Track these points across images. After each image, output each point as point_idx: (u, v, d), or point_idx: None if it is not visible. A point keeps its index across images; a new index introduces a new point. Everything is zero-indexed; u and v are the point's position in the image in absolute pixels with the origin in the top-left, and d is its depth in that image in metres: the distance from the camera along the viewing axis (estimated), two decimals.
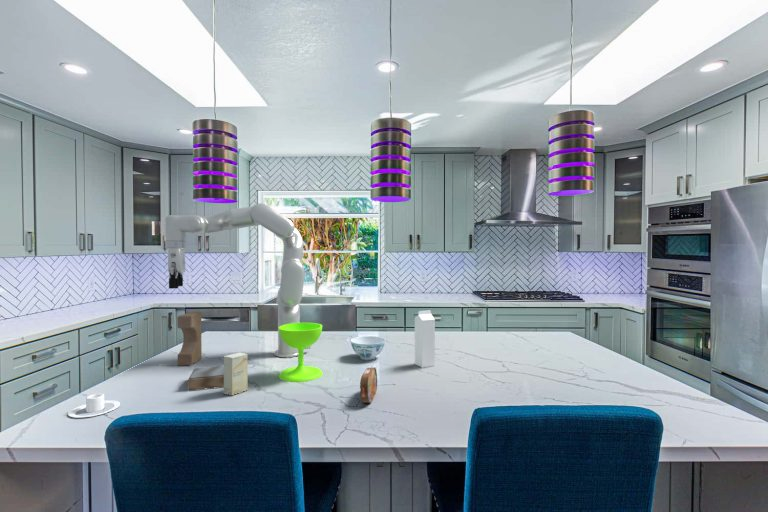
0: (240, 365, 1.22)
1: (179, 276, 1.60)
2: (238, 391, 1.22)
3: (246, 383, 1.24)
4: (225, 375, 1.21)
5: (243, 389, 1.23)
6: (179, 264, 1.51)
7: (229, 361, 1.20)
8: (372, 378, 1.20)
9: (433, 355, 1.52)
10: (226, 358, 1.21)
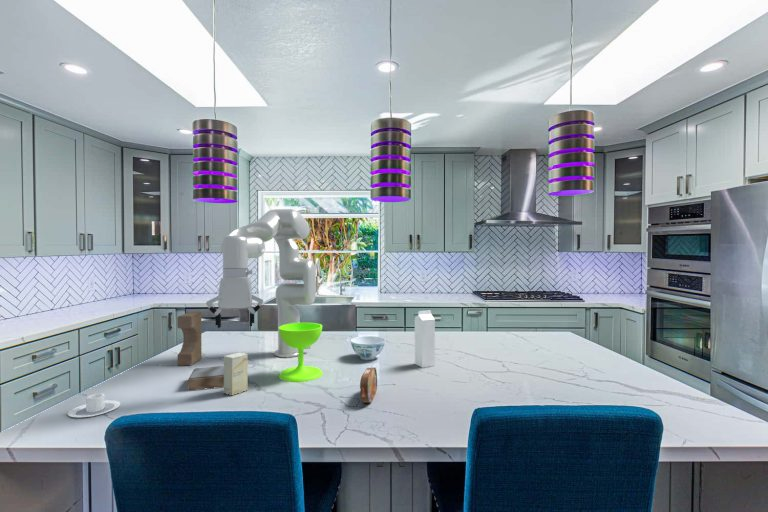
0: (240, 365, 1.22)
1: None
2: (238, 391, 1.22)
3: (246, 383, 1.24)
4: (225, 375, 1.21)
5: (243, 389, 1.23)
6: None
7: (229, 361, 1.20)
8: (372, 378, 1.20)
9: (433, 355, 1.52)
10: (226, 358, 1.21)
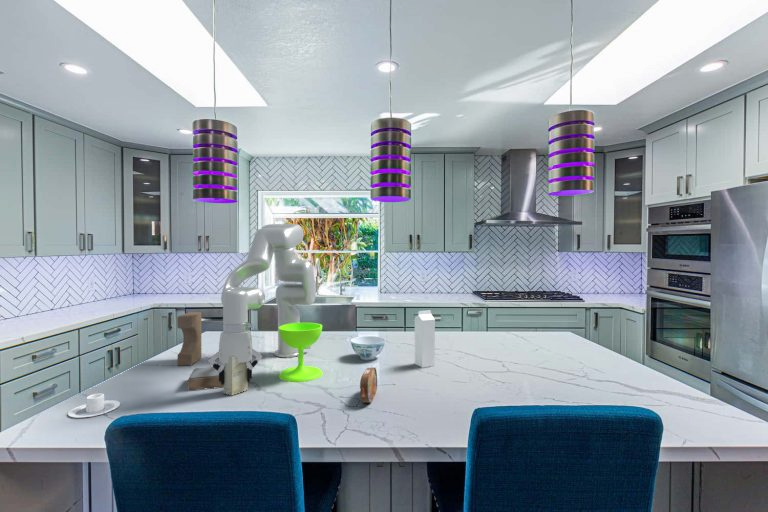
0: (240, 365, 1.22)
1: None
2: (238, 391, 1.22)
3: (246, 383, 1.24)
4: (225, 375, 1.21)
5: (243, 389, 1.23)
6: None
7: (229, 361, 1.20)
8: (372, 378, 1.20)
9: (433, 355, 1.52)
10: None
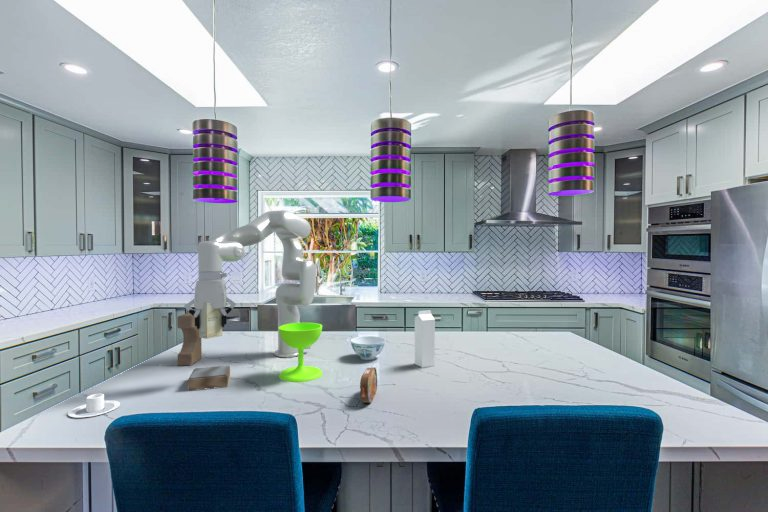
0: (214, 311, 1.31)
1: None
2: (213, 335, 1.30)
3: (221, 329, 1.33)
4: (200, 320, 1.30)
5: (218, 334, 1.32)
6: None
7: (204, 307, 1.29)
8: (372, 378, 1.20)
9: (433, 355, 1.52)
10: None
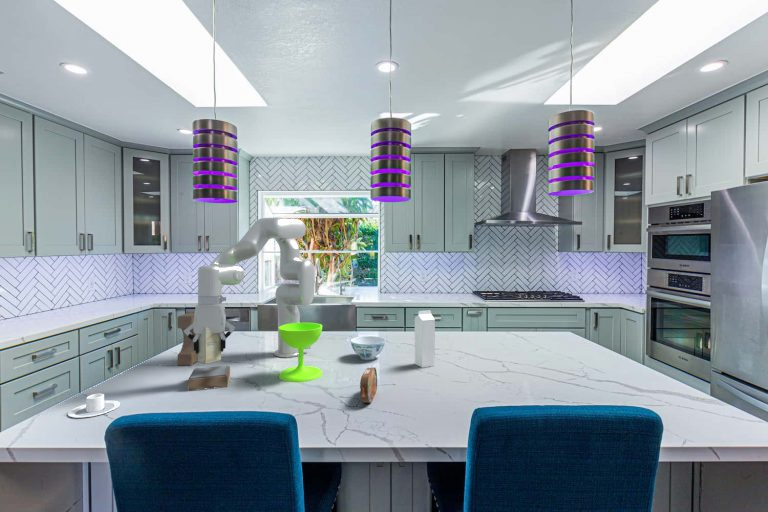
0: (213, 335, 1.31)
1: None
2: (212, 360, 1.30)
3: (220, 353, 1.33)
4: (199, 345, 1.30)
5: (217, 358, 1.32)
6: None
7: (203, 331, 1.29)
8: (372, 378, 1.20)
9: (433, 355, 1.52)
10: None
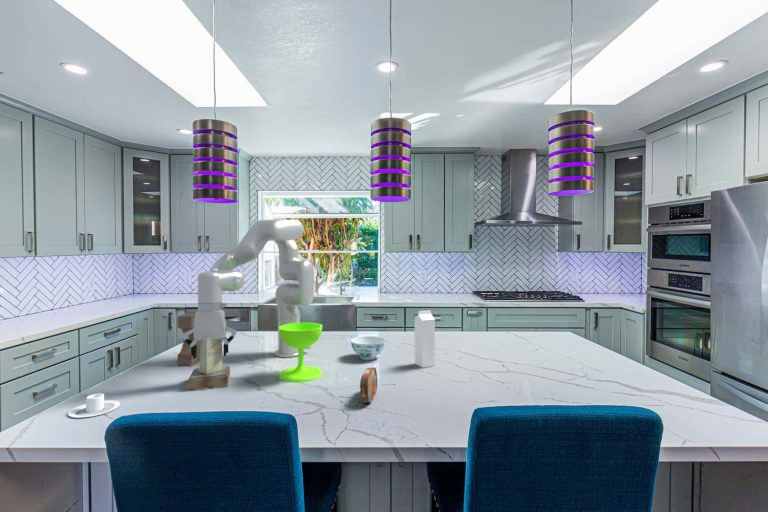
0: (214, 346, 1.31)
1: (195, 345, 1.31)
2: (213, 370, 1.30)
3: (221, 363, 1.33)
4: (200, 355, 1.30)
5: (218, 368, 1.32)
6: None
7: (204, 342, 1.29)
8: (372, 378, 1.20)
9: (433, 355, 1.52)
10: None
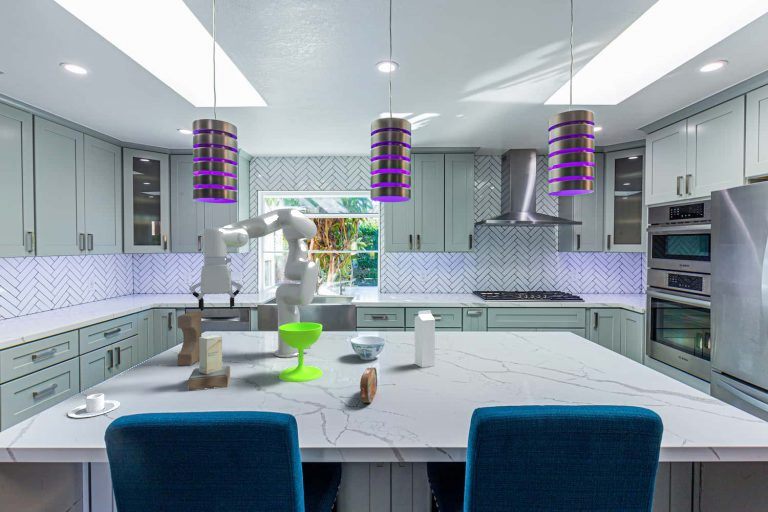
0: (214, 346, 1.31)
1: (202, 298, 1.35)
2: (213, 370, 1.30)
3: (221, 363, 1.33)
4: (200, 355, 1.30)
5: (218, 368, 1.32)
6: None
7: (204, 342, 1.29)
8: (372, 378, 1.20)
9: (433, 355, 1.52)
10: (201, 339, 1.30)
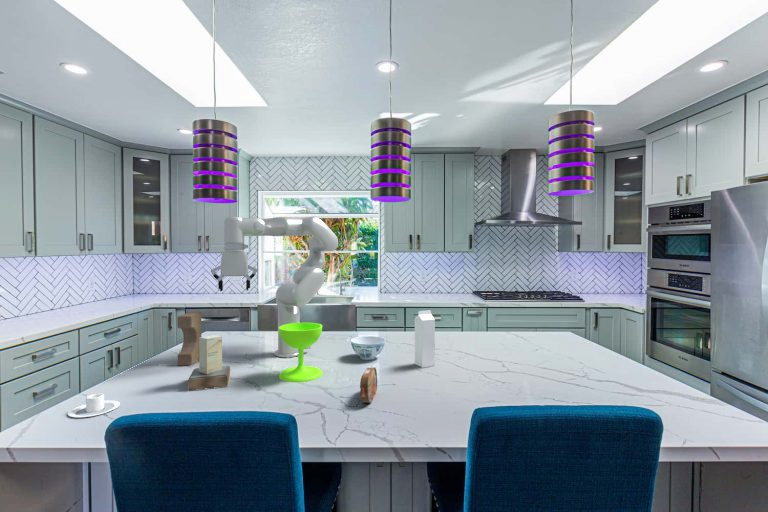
0: (214, 346, 1.31)
1: None
2: (213, 370, 1.30)
3: (221, 363, 1.33)
4: (200, 355, 1.30)
5: (218, 368, 1.32)
6: None
7: (204, 342, 1.29)
8: (372, 378, 1.20)
9: (433, 355, 1.52)
10: (201, 339, 1.30)
